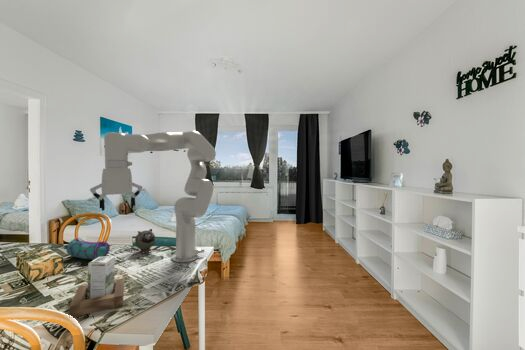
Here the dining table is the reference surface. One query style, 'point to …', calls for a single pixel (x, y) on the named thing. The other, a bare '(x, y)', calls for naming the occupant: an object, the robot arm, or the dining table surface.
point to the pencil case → (87, 249)
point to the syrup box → (101, 277)
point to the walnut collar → (96, 300)
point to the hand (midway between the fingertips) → (118, 208)
